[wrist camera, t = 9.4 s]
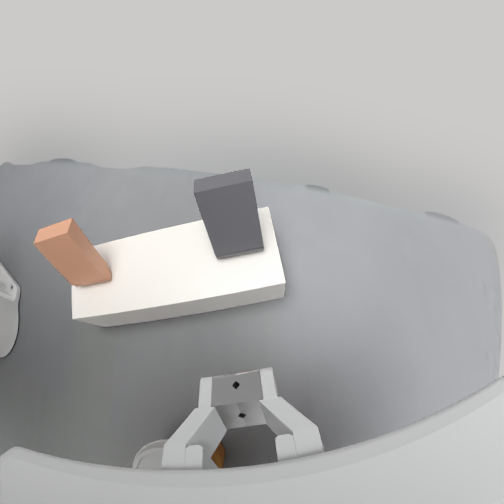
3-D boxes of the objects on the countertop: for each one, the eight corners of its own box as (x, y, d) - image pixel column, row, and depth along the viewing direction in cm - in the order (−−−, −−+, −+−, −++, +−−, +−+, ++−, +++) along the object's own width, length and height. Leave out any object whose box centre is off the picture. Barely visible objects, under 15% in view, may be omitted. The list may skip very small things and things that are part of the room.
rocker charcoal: (265, 254, 31) (252, 180, 24) (218, 263, 31) (193, 193, 24) (262, 240, 32) (249, 168, 26) (216, 249, 32) (194, 180, 26)
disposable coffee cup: (182, 407, 34) (144, 425, 23) (249, 438, 32) (237, 472, 21) (158, 460, 31) (117, 490, 20) (220, 491, 29) (199, 534, 18)
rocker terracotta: (110, 284, 31) (67, 232, 24) (77, 290, 31) (33, 243, 24) (112, 270, 33) (72, 217, 25) (80, 277, 33) (39, 229, 25)
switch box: (283, 297, 38) (285, 282, 30) (104, 327, 38) (72, 319, 31) (269, 232, 41) (267, 205, 34) (102, 267, 41) (72, 250, 34)
